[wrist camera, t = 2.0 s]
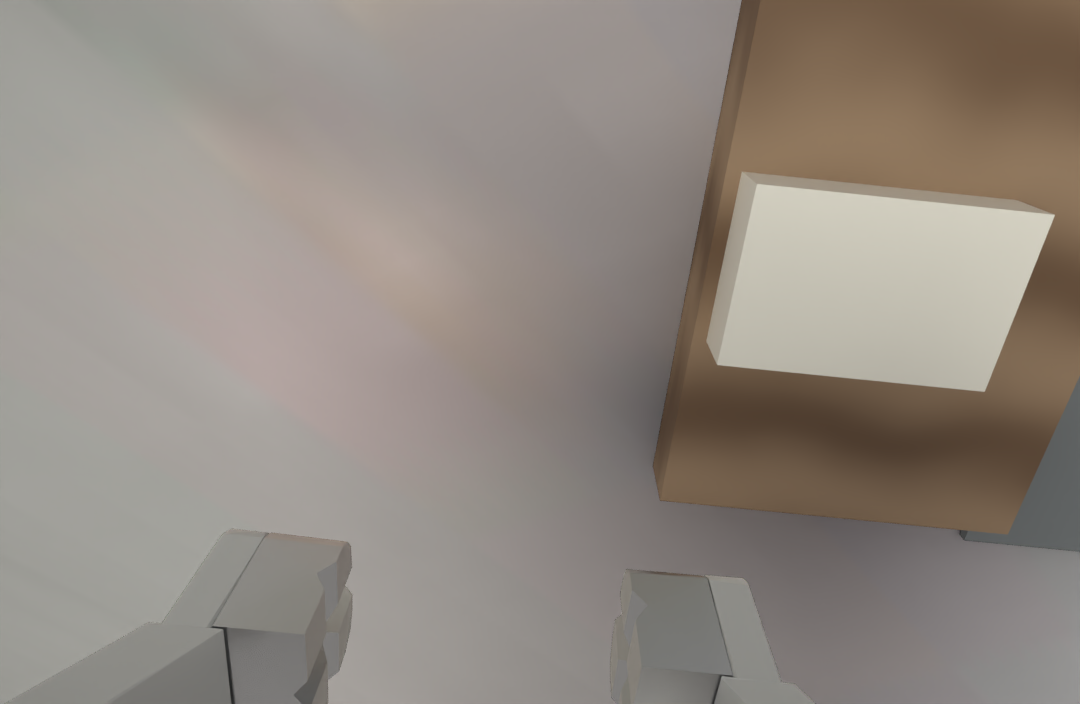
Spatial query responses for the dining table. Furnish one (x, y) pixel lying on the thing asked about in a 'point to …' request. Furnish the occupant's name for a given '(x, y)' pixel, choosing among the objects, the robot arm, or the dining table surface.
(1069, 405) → the mat
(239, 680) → the robot arm
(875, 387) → the wooden board
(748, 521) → the dining table surface
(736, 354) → the white flat block
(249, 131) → the dining table surface
